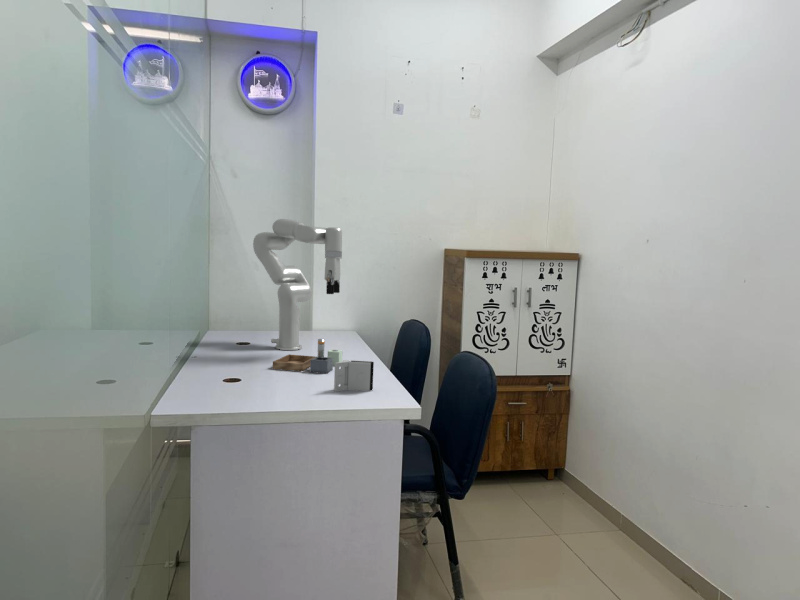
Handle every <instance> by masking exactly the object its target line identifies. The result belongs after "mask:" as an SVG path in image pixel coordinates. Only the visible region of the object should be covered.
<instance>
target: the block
mask: <svg viewBox="0 0 800 600" xmlns="http://www.w3.org/2000/svg"><path fill="white" fill-rule="evenodd" d="M333 368H334V366H333V358H328V356H327V357H326V356H324V357H318V356H315V358H313V359H311V364H310V368H309V370H310V371H309V372H310V373H314V372H318V373H317V374H326V373H327V374H329V373H330V372H332V371H333V370H334V369H333Z"/></svg>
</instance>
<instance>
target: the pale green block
mask: <svg viewBox="0 0 800 600" xmlns="http://www.w3.org/2000/svg"><path fill="white" fill-rule="evenodd" d="M343 353H344V352H343V349H329V350H328V351H327V357H328V358H333V367H335V363H338V362H342V361H343Z"/></svg>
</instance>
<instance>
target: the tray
mask: <svg viewBox="0 0 800 600" xmlns="http://www.w3.org/2000/svg"><path fill="white" fill-rule="evenodd" d="M315 357H316V356H314V355H313V356H312V355H300V354H287V355H284V356H283V357H280V358H278V359H276V360H273V361H272V370H278V369H282V370H281V371H289V370H294V371H293V372H301V371H303V372H305V371H306V370H307V368H308V369H310V368H309V367H310V364H311V359H313V358H315ZM305 369H306V370H305Z"/></svg>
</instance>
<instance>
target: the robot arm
mask: <svg viewBox="0 0 800 600" xmlns="http://www.w3.org/2000/svg"><path fill="white" fill-rule="evenodd" d="M271 228H272V231H273V232H272V231H271V232H269V231H267V232H260V233H257V234H256V235H255V236H254V238H253V240H252V241H253V242H252V247H253V252H254V254H255V256H256V258H257V259H258V260H259V262H260V263H261V264H262V266H263V267H264V269H265V270H266V273H267V274H268V277H269V278H270V279H271V281H272V282H273V284H275V285H278V286H279V287H278V289H277V299H278V309H279V311H278V313H279V314H278V317H279V318H278V319H279V320H278V321H279V322H278V338H277V339H276V338H271V339H270V342H271V344H275V347H274V348H275V349H276V350H279V349H280V351H298V349H299V350H301V349H303V346H302V344H300V309H299V306H298V304H297V303H303V302H308V301H309V300H310V299H312V296H313V295H312V294H313V291H312V288H311V285H310V283H309V282H308V280H307V279H306V276H305V275H304V274H303V272H302V270H301V269H300V268H299V267H298V266H295V265H285V264H284V263H283V262H282V260H281V258H280V257H279V256H278V254H276V253H275V252H274V251H282V250H285V249H286V248H288V247H289V246H290V245H291V244H293V242H294V241H297V242H302V243H306V244H314V245H315V244H316V245H324V259H325V264H324V280H325V282H326V284H325V285H326V286H325V287H326V289H325V291H326V293H325V294H326V295H334V294H339V293H340V291H341V290H340V286H341V285H340V283H341V282H340V280H341V259H343V256H342V255H343V230H342V228H340V227H322V226H308V225H305V224H304V223H303V222H301V221H298V220H296V219H289V218H279V219H276V220H275V221H273V223H272V227H271Z"/></svg>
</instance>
